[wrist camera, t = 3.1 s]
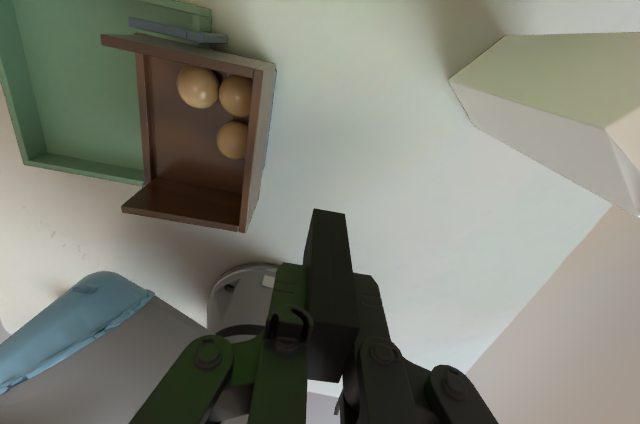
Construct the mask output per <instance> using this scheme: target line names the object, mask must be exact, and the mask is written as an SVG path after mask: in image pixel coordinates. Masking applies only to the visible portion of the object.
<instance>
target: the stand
mask: <svg viewBox="0 0 640 424" xmlns="http://www.w3.org/2000/svg"><path fill="white" fill-rule="evenodd" d="M128 22H129V26H130V27H133V28H138V29H142V30H146V31H151V32H155V33H159V34H164V35H168V36H172V37H177V38H181V39H185V40H190V41H194V42H198V43H227V36H226V35H222V34H217V33H210V32H197V31H192V30H187V29H183V28H179V27H174V26H170V25H166V24H162V23H157V22H153V21H149V20H145V19H140V18H133V17H128ZM276 73H277V70H275V73H274V81H273V89H272V97H271V105H270V113H269V121H268V129H267V137H266V145H265V153H264V161H263V169H264V166H265V159H266V151H267V144H268V136H269V128H270V120H271V112H272V104H273V97H274V89H275V81H276ZM263 169H262V171H263ZM145 186H146V185H145V182H144V183H143V184H142V188H143V187H145Z"/></svg>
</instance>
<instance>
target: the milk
mask: <svg viewBox="0 0 640 424" xmlns="http://www.w3.org/2000/svg"><path fill="white" fill-rule="evenodd" d="M448 82H449V84H450V85H451V87H452V89H453V91H454V92H455V94H456V96H457V97H458V99H459V101H460V103H461V104H462V106H463V108H464V110H465V111H466V113H467V115H468V116H469V118H470V120H471V122H472V123H473V125H474V127H476V128H477V129H479V130H481V131H483V132H484V133H486V134H488V135H490V136H492V137H493V138H495V139H497V140H499V141H501V142H502V143H504V144H506V145H508V146H510V147H511V148H513V149H515V150H517V151H519V152H520V153H522V154H524V155H526V156H528V157H529V158H531V159H533V160H535V161H537V162H538V163H540V164H542V165H544V166H546V167H547V168H549V169H551V170H553V171H554V172H556V173H558V174H560V175H562V176H563V177H565V178H567V179H569V180H571V181H572V182H574V183H576V184H578V185H580V186H581V187H583V188H585V189H587V190H589V191H590V192H592V193H594V194H596V195H598V196H599V197H601V198H603V199H605V200H607V201H608V202H610V203H612V204H614V205H616V206H617V207H619V208H621V209H623V210H625V211H627V212H628V213H630V214H632V215H634V216H635V217H640V32H622V33H585V34H548V35H511V36H504V37H503V38H502V39H501V40H499V41H498V42H497V43H495V44H494V45H493V46H491V47H490V48H489V49H488V50H486V51H485V52H484V53H482V54H481V55H480V56H478V57H477V58H476V59H475V60H473V61H472V62H471V63H469V64H468V65H467V66H466V67H464V68H463V69H462V70H460V71H459V72H458V73H456V74H455V75H454V76H453V77H451V78H450V79H449V80H448Z"/></svg>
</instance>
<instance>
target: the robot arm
mask: <svg viewBox="0 0 640 424" xmlns="http://www.w3.org/2000/svg"><path fill="white" fill-rule="evenodd" d="M341 376H343V389H342V392H341V394H340V397H339V399H338V402H337V404H336V407H335V412H334V415H338V413H339V410H340V419H341V420H340V422H341V424H498V422H497V421H496V419H495V417H494V416H493V414H492V413H491V411H490V410H489V408H488V407H487V405H486V404H485V402H484V401H483V399H482V397H481V396H480V395H479V393H478V391H477V390H476V388H475V387H474V385H473V384H472V383H471V381H470V380H469V379H468V378H467V377H466V375H464V374H463V373H462V372H460V371H459V370H458V369H456V368H453V367H451V366H449V365H439V366H436V367H434V369H433V370H432V372H431V371H429V370H427V369H425V368H422V367H420V366H418V365H416V364H413V363H412V362H410V361H408V360H406V359H405V358H404V357H403V356H402V354H401V352H400V350H399V349H398V348H397V346H396V345H395V344H394V343H392V342H391V339H390V335H389V330H388V326H387V322H386V318H385V313H384V309H383V307H382V300H381V298H380V292H379V287H378V285H377V283H376V282H375V281H374V279H373V278H372V276H370V275H364V274H358V273H353V270H352V263H351V256H350V248H349V241H348V234H347V226H346V219H345V214H342V213H337V212H331V211H326V210H320V209H314V210H313V214H312V219H311V223H310V228H309V232H308V237H307V242H306V246H305V251H304V257H303V265H297V264H291V263H284V262H283V264H282V265H281V266H278V265H273V264H266V263H253V264H246V265H242V266H238V267H236V268H233V269H231V270H229V271H227V272H226V273H224V274H223V275H222V276H221V277H220V278H219V279H218V280H217V281H216V283H215V285H214V287H213V289H212V291H211V293H210V296H209V299H208V305H207V329H206V328H205V327H203V326H202V325H200V324H198V323H197V322H195V321H194V320H192V319H191V318H189V317H188V316H186V315H185V314H183V313H181V312H180V311H178V310H177V309H175V308H174V307H172V306H171V305H169V304H168V303H166V302H165V301H163V300H161V299H160V298H158V297H157V296H155V293H154V292H152V291H151V290H145V289H143V288H142V287H140V286H138V285H136V284H135V283H133V282H131V281H129V280H128V279H126V278H124V277H122V276H121V275H119V274H117V273H114V272H110V271H101V272H96V273H92V274H90V275H88V276H86V277H84V278H83V279H82V280H80V281H79V282H78V283H77V284H75V285H74V286H73V287H72V288H70V289H69V290H68V291H67V292H65V293H64V294H63V295H62V296H60V297H59V298H58V299H57V300H55V301H54V302H53V303H52V304H50V305H49V306H48V307H47V308H45V309H44V310H43V311H42V312H40V313H39V314H38V315H37V316H35V317H34V318H33V319H32V320H30V321H29V322H28V323H27V324H25V325H24V326H23V327H22V328H20V329H19V330H18V331H17V332H15V333H14V334H13V335H12V336H10V337H9V338H8V339H7V340H5V341H4V342H3V343H2V344H0V424H306V402H307V379H309V380H317V381H325V382H333V383H339V381H340V378H341Z"/></svg>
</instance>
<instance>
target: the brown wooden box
mask: <svg viewBox="0 0 640 424" xmlns="http://www.w3.org/2000/svg"><path fill="white" fill-rule="evenodd" d="M100 38H101V44H102V45H103V46H107V47H112V48H116V49H121V50H125V51H130V52H134V53H135V61H136V74H137V87H138V100H139V113H140V126H141V139H142V152H143V165H144V178H145V185H146V186H145V187H143V188H142V189H141V190H140V191H139V192H137V193H136V194H135V195H134V196H133V197H131V198H130V199H129V200H128V201H127V202H125V203H124V204H123V205H122V206H121V208H122V212H123V213H129V214H135V215H141V216H147V217H153V218H158V219H164V220H170V221H176V222H182V223H188V224H194V225H200V226H206V227H212V228H217V229H223V230H229V231H235V232H238V231H239V232H241V233H246V231H247V229H248V226H249V223H250V221H251V218H252V215H253V213H254V210H255V208H256V205H257V202H258V200H259V193H260V185H261V177H262V169H263V161H264V153H265V145H266V137H267V129H268V121H269V113H270V105H271V97H272V89H273V81H274V73H275V64H273V63H269V62H264V61H260V60H256V59H251V58H247V57H242V56H238V55H234V54H229V53H225V52H221V51H216V50H212V49H207V48H203V47H199V46H194V45H190V44H186V43H181V42H177V41H173V40H168V39H164V38H159V37H155V36H151V35H147V34H144V33H139V32H136V33H134V34H133V35H119V34H100ZM189 65H193V66H197V67H202V68H206V69H210V70H211V71H212V72H213V73H214V74H215V75H216V77H217V79H218V81H219V84H220V85H221V83H222V81H223V80H224V79H225V78H226V77H228V76H230V75H238V76H242V77H247V78H251V79H252V80H253V81H252V92H251V103H250V113H249V115H248V116H245V117H238V116H234V115H232V114H230V113H228V112H227V111H226V110H225V109H224V108H223V106H222V104H221V102H220V100H219V98H218V100H217V101H216V102H215V103H214V104H213V105H212V106H210V107H208V108H195V107H192V106H190V105H188V104H187V103H186V102H185V101H183V99H182V98H181V97H180V95H179V93H178V90H177V86H176V81H177V77H178V74H179V73H180V71H181V70H182V69H183V68H185V67H186V66H189ZM229 122H241V123H243V124H245V125H247V126H248V134H247V145H246V156H245V159H242V160H233V159H230V158H227V157H226V156H224V155H223V154H222V153H221V151H220V150H219V148H218V145H217V134H218V131H219V130H220V128H221V127H222V126H223V125H225V124H227V123H229Z"/></svg>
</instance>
